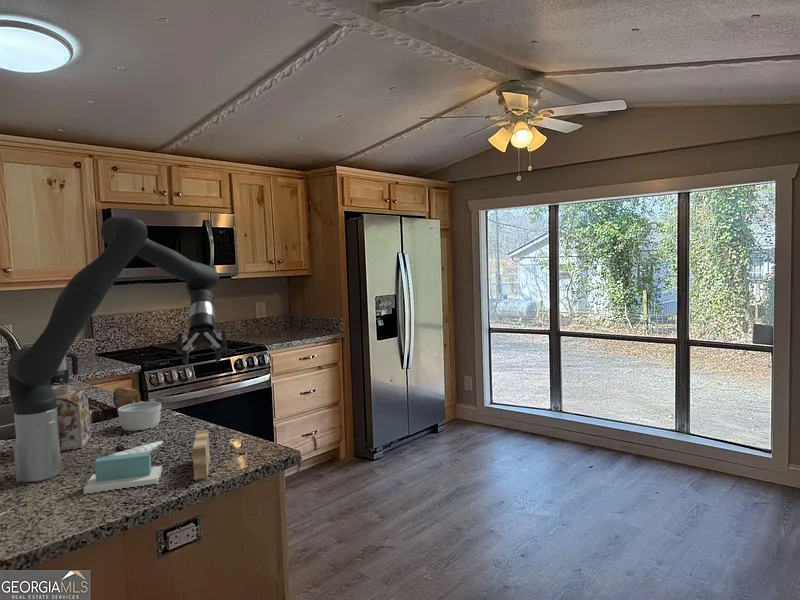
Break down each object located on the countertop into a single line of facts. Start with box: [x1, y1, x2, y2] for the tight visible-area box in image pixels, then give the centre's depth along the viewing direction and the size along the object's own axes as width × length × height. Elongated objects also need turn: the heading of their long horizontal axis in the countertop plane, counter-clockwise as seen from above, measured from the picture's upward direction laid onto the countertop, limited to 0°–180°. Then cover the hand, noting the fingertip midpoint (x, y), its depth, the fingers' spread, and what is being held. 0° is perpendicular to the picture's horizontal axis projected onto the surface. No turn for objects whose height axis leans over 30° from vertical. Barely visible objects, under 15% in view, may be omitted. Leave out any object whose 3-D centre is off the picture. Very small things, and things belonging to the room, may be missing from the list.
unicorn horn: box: [108, 440, 164, 456], centre depth 158 cm, size 5×24×5 cm, turn 169°
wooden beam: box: [192, 429, 211, 481], centre depth 146 cm, size 16×3×8 cm, turn 16°
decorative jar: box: [52, 384, 92, 452], centre depth 169 cm, size 12×12×18 cm
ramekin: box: [117, 401, 162, 432], centre depth 187 cm, size 13×13×7 cm
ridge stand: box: [83, 452, 163, 495], centre depth 138 cm, size 16×9×6 cm, turn 106°
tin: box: [112, 387, 142, 410], centre depth 209 cm, size 15×3×8 cm, turn 55°
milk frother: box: [50, 352, 79, 384], centre depth 267 cm, size 14×16×15 cm
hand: (201, 362), depth 164 cm, fingers open, 8 cm apart
